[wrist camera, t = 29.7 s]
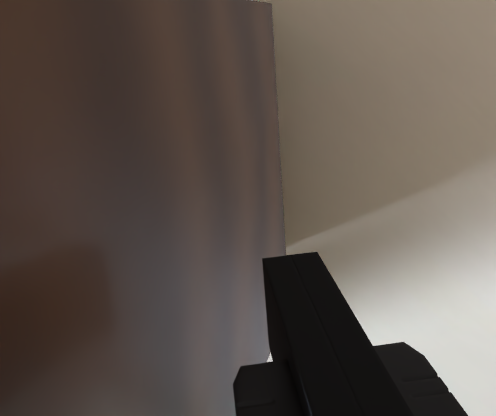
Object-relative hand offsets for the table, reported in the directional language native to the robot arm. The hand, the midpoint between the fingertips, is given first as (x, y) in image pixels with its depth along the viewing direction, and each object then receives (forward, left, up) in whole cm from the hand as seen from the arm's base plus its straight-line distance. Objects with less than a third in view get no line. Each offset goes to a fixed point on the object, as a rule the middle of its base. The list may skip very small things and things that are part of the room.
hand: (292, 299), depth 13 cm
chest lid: (-2, -1, -4) cm, 5 cm away
